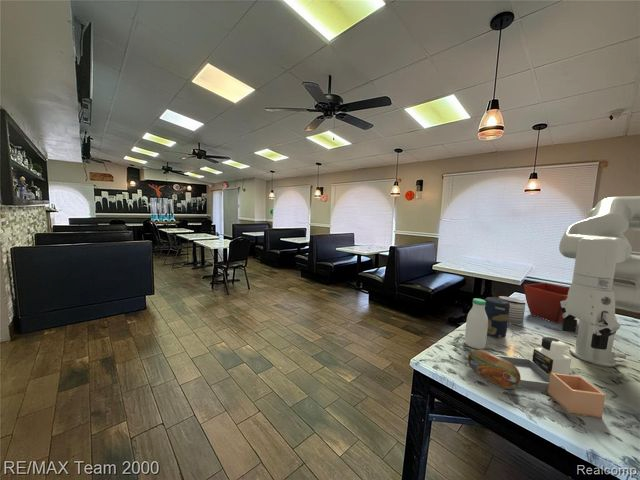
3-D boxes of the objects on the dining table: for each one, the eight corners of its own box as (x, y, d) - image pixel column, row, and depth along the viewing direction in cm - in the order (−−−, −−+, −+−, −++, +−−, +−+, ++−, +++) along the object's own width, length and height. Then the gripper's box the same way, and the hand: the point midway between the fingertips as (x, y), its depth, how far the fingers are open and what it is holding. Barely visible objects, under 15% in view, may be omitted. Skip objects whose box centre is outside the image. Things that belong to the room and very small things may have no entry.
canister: (501, 332, 118) (505, 295, 116) (509, 341, 109) (514, 302, 107) (478, 328, 121) (482, 293, 119) (484, 337, 112) (488, 299, 110)
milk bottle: (488, 350, 101) (494, 304, 99) (468, 348, 102) (473, 302, 100) (480, 341, 108) (485, 297, 106) (461, 339, 110) (465, 295, 108)
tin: (466, 368, 89) (468, 346, 88) (470, 365, 90) (473, 344, 90) (516, 395, 76) (519, 369, 75) (520, 391, 78) (523, 366, 77)
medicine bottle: (530, 365, 92) (535, 335, 90) (548, 365, 92) (552, 334, 91) (550, 378, 85) (555, 345, 83) (569, 377, 85) (574, 345, 84)
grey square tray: (529, 365, 92) (530, 358, 92) (559, 392, 78) (560, 384, 78) (487, 360, 94) (488, 354, 94) (509, 385, 80) (510, 378, 80)
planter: (577, 397, 76) (580, 376, 75) (601, 418, 68) (605, 395, 67) (547, 393, 77) (550, 372, 76) (568, 413, 69) (572, 390, 69)
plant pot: (519, 312, 143) (523, 284, 142) (541, 309, 149) (545, 282, 147) (559, 327, 125) (564, 295, 123) (583, 323, 131) (587, 292, 129)
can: (492, 317, 135) (494, 296, 134) (504, 314, 140) (506, 293, 139) (515, 326, 125) (518, 303, 124) (527, 322, 130) (530, 300, 128)
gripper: (642, 292, 60) (630, 358, 61) (580, 275, 77) (572, 327, 78) (605, 289, 61) (595, 354, 63) (552, 273, 78) (545, 324, 80)
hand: (582, 339), depth 71 cm, fingers open, 9 cm apart
